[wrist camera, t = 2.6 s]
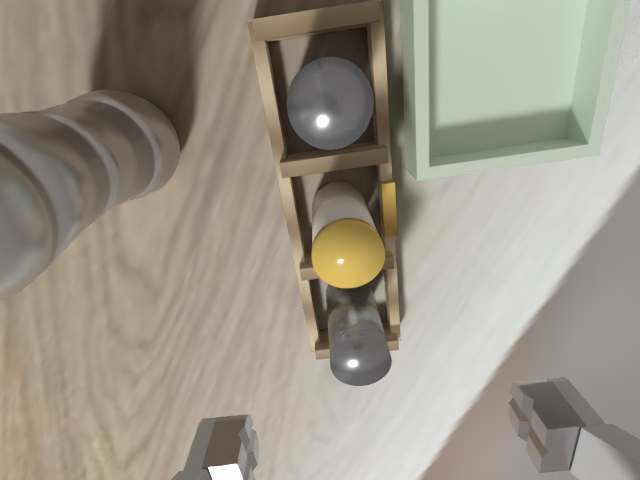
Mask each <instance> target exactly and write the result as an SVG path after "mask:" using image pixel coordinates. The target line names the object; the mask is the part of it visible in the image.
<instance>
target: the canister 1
mask: <svg viewBox="0 0 640 480" xmlns="http://www.w3.org/2000/svg"><path fill="white" fill-rule="evenodd" d="M373 108H374V97H373V91H372V87H371V85H370V82H369V80H368V79H367V77H366V75H365V74H364V73H363V71H362V70H361V69H360V68H359V67H357V66H356V65H355V64H354V63H352V62H350V61H348V60H346V59H343V58H339V57H323V58H319V59H316V60H314V61H312V62H310V63H308V64H307V65H305V66H304V67H303V68H302V69H301V70H300V71H299V72H298V73H297V74H296V76H295V77H294V79H293V81H292V83H291V85H290V87H289V91H288V95H287V113H288V117H289V120H290V123H291V125H292V127H293V129H294V130H295V132H296V133H297V134H298V136H299V137H300V138H301V139H303V140H304V141H305V142H306V143H308V144H309V145H312V146H314V147H316V148H319V149H325V150H334V149H340V148H343V147H346V146H348V145H350V144H352V143H353V142H355V141H356V140H357V139H358V138H359V137H360V136H361V135H362V134H363V133H364V131H365V130H366V129H367V127H368V125H369V123H370V120H371V118H372V114H373Z"/></svg>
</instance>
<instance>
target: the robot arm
mask: <svg viewBox="0 0 640 480" xmlns="http://www.w3.org/2000/svg"><path fill="white" fill-rule="evenodd" d="M510 393H511V395H512V396H513V399H512V400H511V401H510V402H509V407H508V412H509V417H510V421H511V423H512V426H513V428H514V430H515V432H516V433H517V435H518V436H519V437H520V438H522V439H523V440H525V441H526V442H527V447H526V451H527V452H528V454H529V456H530V458H531V460H532V461H533V463H534V465H535V466H536V468H537V470H538V471H539V473H543V472H557V471H570V470H571V471H570V472H571V473H572V474H573V475H574V476H576V477H577V478H578V479H579V480H640V439H638V438H637V437H635V436H633V435H631V434H629V433H628V432H626V431H624V430H622V429H620V428H619V427H617V426H615V425H613V424H606V423H605V422H604V421H603V419H602V418H601V417H600V416H599V415H598V414H597V413H596V411H595V410H594V409H593V408H592V407H591V406H590V404H589V403H588V402H587V401H586V400H585V399H584V397H582V395H581V394H580V393H579V392H578V390H577V389H576V388H575V387H574V386H573V385H572V384H571V382H570V381H569V380H568V379H566V378H565V377H561V378H553V379H541V380H534V381H526V382H519V383H513V384H512V385H511V389H510ZM252 425H253V420H252V418H251V415H238V416H226V417H216V418H206V419H202V420H201V422H200V423H199V425H198V428H197V431H196V434H195V437H194V440H193V443H192V446H191V449H190V453H189V456H188V459H187V462H186V465H185V468H184V471H179V472H178V473H177V474H176V475H175V476H174V477H173V478H172V479H171V480H255V477H254V474H253V470H254V468H255V467H256V466H257V464H258V457H259V442H258V436H257V433H256V431H255V430H253V429H252Z"/></svg>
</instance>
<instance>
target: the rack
mask: <svg viewBox="0 0 640 480" xmlns="http://www.w3.org/2000/svg"><path fill="white" fill-rule="evenodd" d="M360 27H367V38H368V52H369V66H370V81H371V87H372V91H373V97H374V108H373V123H374V137H375V142H368V143H361V144H354V145H348V146H346V147H343V148H340V149H334V150H325V149H320V150H313V151H306V152H299V153H292V154H287V148H286V142H285V137H284V131H283V126H282V120H281V114H280V109H279V103H278V97H277V92H276V86H275V81H274V75H273V69H272V64H271V58H270V53H269V47H268V42H272V41H279V40H285V39H291V38H298V37H304V36H310V35H316V34H323V33H329V32H335V31H342V30H348V29H354V28H360ZM248 28H249V33H250V38H251V43H252V48H253V53H254V58H255V64H256V69H257V74H258V79H259V84H260V89H261V94H262V99H263V104H264V109H265V115H266V120H267V125H268V130H269V135H270V140H271V145H272V150H273V155H274V161H275V166H276V171H277V176H278V181H279V186H280V191H281V196H282V201H283V206H284V212H285V217H286V222H287V227H288V232H289V237H290V242H291V247H292V252H293V257H294V263H295V268H296V273H297V278H298V283H299V288H300V293H301V298H302V303H303V308H304V314H305V319H306V324H307V329H308V334H309V339H310V344H311V349H312V352H315V353H316V359H317V360H318V359H327V358H330V350H329V334H328V329H327V330H319V327H318V322H317V316H316V310H315V305H314V299H313V294H312V288H311V282H310V280H311V279H319V278H320V277H319V276H318V275H317V273H316V271H315V270H314V267H313V264H312V252H309V253H305V249H304V243H303V238H302V232H301V226H300V221H299V215H298V210H297V204H296V198H295V193H294V187H293V182H292V177H295V176H302V175H309V174H316V173H323V172H330V171H337V170H344V169H351V168H358V167H365V166H372V165H376V166H377V180H378V194H379V208H380V223H381V237H382V242H383V244H384V248H385V261H384V264H383V267H382V269H381V270H384V279H385V294H386V308H387V322H383V323H382V326H383V330H384V334H385V337H386V341H387V344H388V348H389V351H392V350H399V347H398V341H401V338H400V318H399V299H398V279H397V260H396V241H395V236H398V235H397V214H396V194H395V182H394V181H393V180H392V163H391V144H390V124H389V105H388V85H387V66H386V47H385V27H384V8H383V1H379V0H369V1H362V2H356V3H350V4H344V5H338V6H332V7H325V8H319V9H313V10H307V11H301V12H294V13H288V14H282V15H276V16H270V17H264V18H257V19H252V22H249V23H248Z"/></svg>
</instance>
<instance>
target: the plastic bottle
mask: <svg viewBox="0 0 640 480" xmlns="http://www.w3.org/2000/svg"><path fill="white" fill-rule="evenodd" d="M179 158H180V144H179V140H178V136H177V133H176V131H175V129H174V127H173V125H172V124H171V122H170V120H169V119H168V118H167V117H166V115H165V114H164V113H163V112H162V111H161V110H160V109H159V108H157V107H156V106H155V105H154V104H152V103H151V102H149V101H147V100H146V99H144V98H142V97H139V96H136V95H134V94H130V93H126V92H121V91H115V90H97V91H93V92H89V93H86V94H83V95H80V96H78V97H76V98H74V99H72V100H70V101H68V102H66V103H65V104H62V105H58V106H54V107H51V108H47V109H43V110H40V111H31V112H21V113H1V114H0V300H3V299H5V298H7V297H10V296H12V295H14V294H17V293H19V292H20V291H21V290H23V289H24V288H25V287H26V286H28V285H29V284H30V283H31V282H32V281H34V280H35V279H36V278H37V277H38V276H39V275H40V274H42V273H43V272H44V271H45V270H46V269H47V267H48V266H49V265H50V264H51V263H52V262H53V261H54V260H55V259H56V258H57V257H58V256H59V255H60V254H61V253H62V252H63V251H64V250H65V249H66V247H67V246H68V245H69V244H70V243H71V242H72V241H73V240H74V239H75V238H76V237H77V236H78V235H79V234H80V233H81V231H83V230H84V229H85V228H86V227H88V226H89V225H90V224H92V223H93V222H94V221H95V220H97V219H98V218H99V217H100V216H102V215H103V214H104V213H105V212H107V211H108V210H110V209H112V208H115V207H117V206H119V205H121V204H123V203H125V202H127V201H129V200H133V199H137V198H141V197H143V196H146V195H148V194H151V193H153V192H155V191H157V190H159V189H160V188H162V187H163V186H164V185H165V184H166V183H167V182H168V181H169V179H170V178H171V177H172V175H173V173H174V171H175V170H176V167H177V165H178V163H179Z"/></svg>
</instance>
